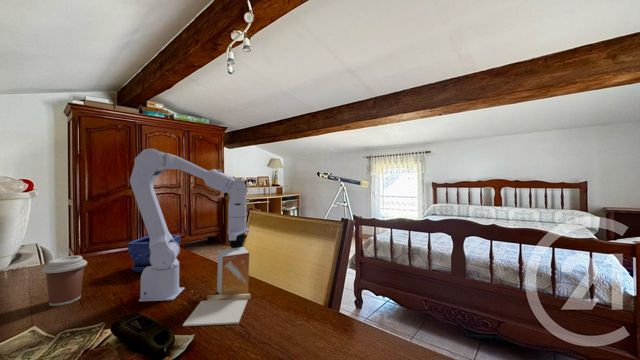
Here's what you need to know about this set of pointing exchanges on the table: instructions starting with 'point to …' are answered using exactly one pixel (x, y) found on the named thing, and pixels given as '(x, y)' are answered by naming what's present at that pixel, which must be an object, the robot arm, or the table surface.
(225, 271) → the small box
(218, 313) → the mat
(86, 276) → the table surface
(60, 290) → the coffee cup
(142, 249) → the flower pot
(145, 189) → the robot arm
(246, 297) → the oak strip
